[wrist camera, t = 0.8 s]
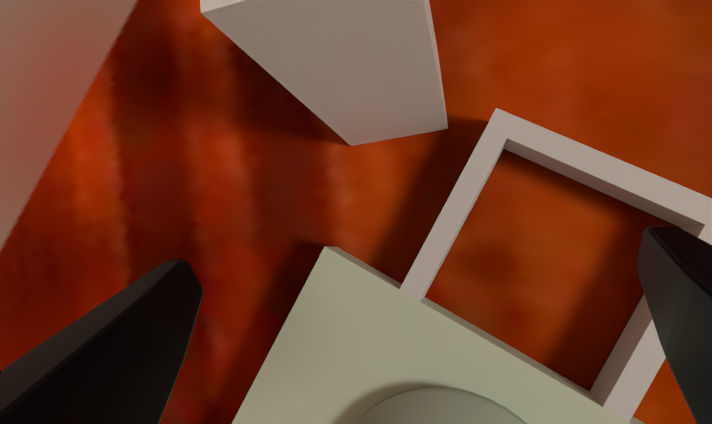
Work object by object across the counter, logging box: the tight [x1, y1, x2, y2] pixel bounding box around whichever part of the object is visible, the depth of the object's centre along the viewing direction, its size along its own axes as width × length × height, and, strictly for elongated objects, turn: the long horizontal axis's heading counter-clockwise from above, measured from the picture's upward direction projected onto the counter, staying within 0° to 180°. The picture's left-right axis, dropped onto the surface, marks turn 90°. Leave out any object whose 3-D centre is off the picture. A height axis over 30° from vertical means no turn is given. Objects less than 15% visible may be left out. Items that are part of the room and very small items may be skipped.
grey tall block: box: [200, 0, 448, 146], centre depth 16 cm, size 4×5×13 cm
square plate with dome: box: [232, 108, 712, 424], centre depth 18 cm, size 23×20×3 cm
